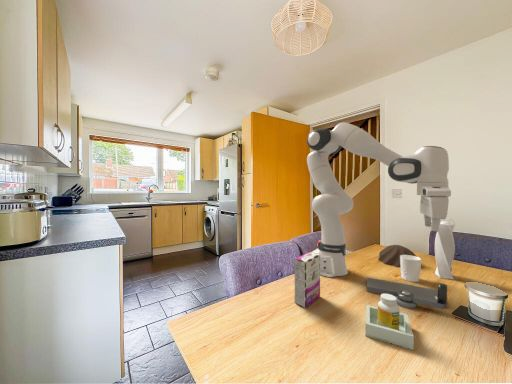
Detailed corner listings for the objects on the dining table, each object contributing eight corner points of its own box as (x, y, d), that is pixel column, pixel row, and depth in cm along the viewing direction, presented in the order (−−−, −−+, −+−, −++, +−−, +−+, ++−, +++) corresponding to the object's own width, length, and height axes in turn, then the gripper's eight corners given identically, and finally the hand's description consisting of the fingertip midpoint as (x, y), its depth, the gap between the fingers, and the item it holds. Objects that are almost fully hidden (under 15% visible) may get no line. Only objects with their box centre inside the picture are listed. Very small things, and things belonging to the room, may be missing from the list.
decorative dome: (390, 268, 111) (390, 249, 111) (372, 256, 131) (372, 240, 131) (428, 269, 110) (429, 250, 110) (404, 257, 130) (405, 240, 130)
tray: (365, 335, 60) (365, 323, 60) (366, 315, 70) (366, 304, 70) (413, 349, 55) (413, 336, 55) (406, 325, 65) (407, 314, 65)
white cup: (402, 280, 96) (402, 258, 96) (397, 274, 104) (398, 253, 103) (423, 284, 93) (423, 261, 93) (417, 277, 101) (417, 256, 100)
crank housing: (366, 299, 80) (366, 293, 80) (366, 281, 95) (367, 277, 95) (454, 318, 68) (454, 312, 68) (438, 295, 83) (439, 289, 83)
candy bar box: (308, 292, 85) (309, 251, 85) (320, 296, 82) (320, 254, 82) (293, 303, 77) (293, 258, 77) (305, 308, 74) (306, 261, 73)
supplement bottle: (382, 321, 66) (383, 290, 66) (402, 330, 62) (403, 297, 61) (373, 327, 63) (374, 295, 63) (393, 338, 59) (394, 303, 58)
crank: (397, 300, 76) (398, 279, 76) (397, 294, 80) (397, 274, 80) (448, 311, 69) (449, 288, 69) (444, 304, 73) (445, 282, 73)
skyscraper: (460, 282, 96) (462, 220, 95) (438, 279, 98) (439, 219, 98) (450, 275, 104) (451, 217, 103) (430, 272, 106) (431, 216, 106)
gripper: (415, 190, 88) (415, 223, 89) (427, 190, 70) (427, 232, 70) (435, 190, 85) (434, 225, 86) (453, 191, 67) (452, 234, 67)
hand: (431, 228), depth 78 cm, fingers open, 8 cm apart
